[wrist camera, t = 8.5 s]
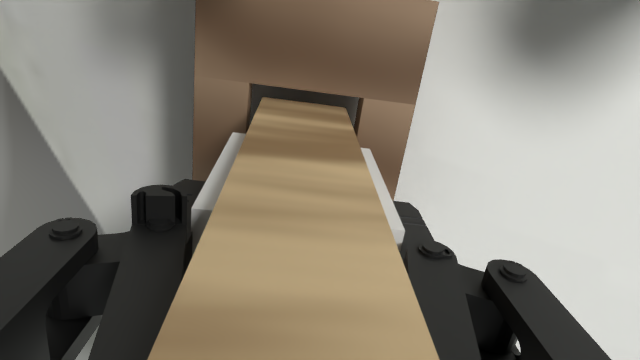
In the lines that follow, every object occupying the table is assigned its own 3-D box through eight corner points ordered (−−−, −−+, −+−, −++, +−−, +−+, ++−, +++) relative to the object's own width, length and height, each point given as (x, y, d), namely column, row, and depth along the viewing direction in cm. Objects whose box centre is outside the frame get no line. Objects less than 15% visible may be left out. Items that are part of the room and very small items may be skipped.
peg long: (262, 96, 20) (143, 369, 5) (345, 107, 20) (451, 391, 6) (256, 173, 22) (149, 550, 7) (333, 182, 22) (390, 559, 7)
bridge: (218, -29, 21) (196, -36, 17) (413, 0, 22) (439, 1, 18) (208, 217, 26) (190, 258, 22) (365, 233, 27) (375, 276, 23)
